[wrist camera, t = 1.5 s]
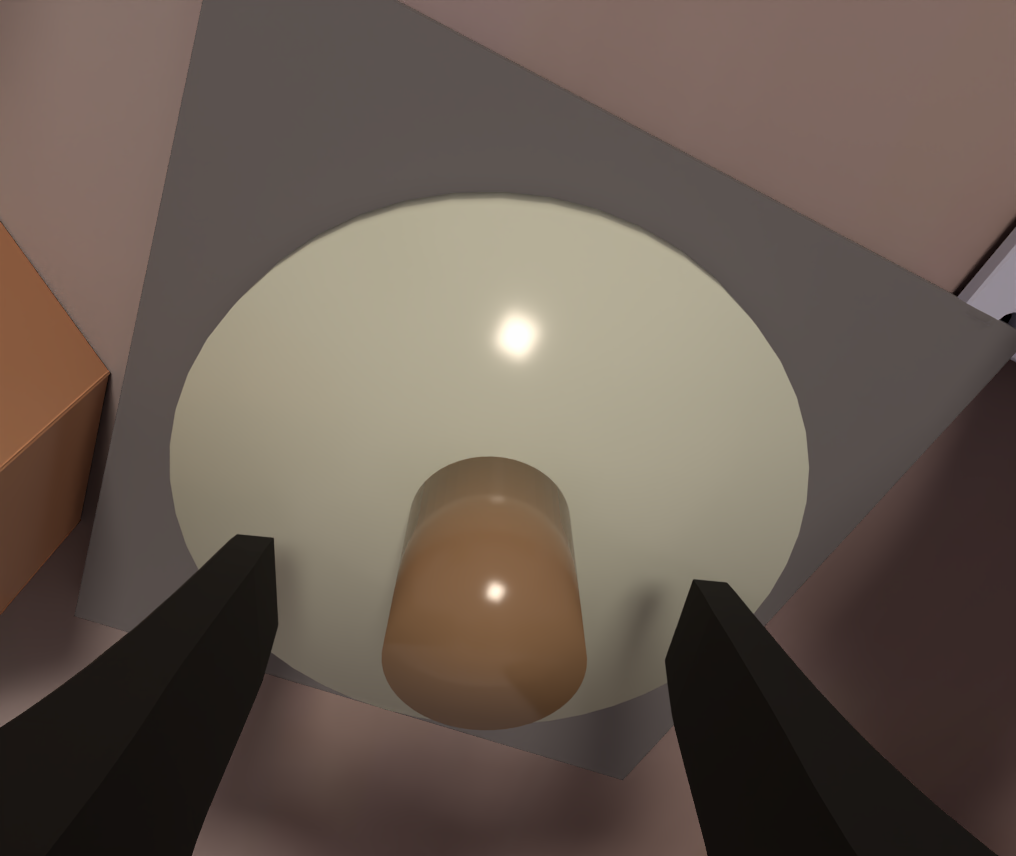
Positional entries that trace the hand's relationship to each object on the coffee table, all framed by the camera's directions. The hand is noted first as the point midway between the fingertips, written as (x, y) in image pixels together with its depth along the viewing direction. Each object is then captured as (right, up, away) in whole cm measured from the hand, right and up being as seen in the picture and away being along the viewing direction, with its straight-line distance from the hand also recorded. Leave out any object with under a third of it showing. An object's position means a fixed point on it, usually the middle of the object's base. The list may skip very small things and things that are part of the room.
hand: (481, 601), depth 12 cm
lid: (0, +2, +3) cm, 3 cm away
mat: (0, +2, +3) cm, 4 cm away
